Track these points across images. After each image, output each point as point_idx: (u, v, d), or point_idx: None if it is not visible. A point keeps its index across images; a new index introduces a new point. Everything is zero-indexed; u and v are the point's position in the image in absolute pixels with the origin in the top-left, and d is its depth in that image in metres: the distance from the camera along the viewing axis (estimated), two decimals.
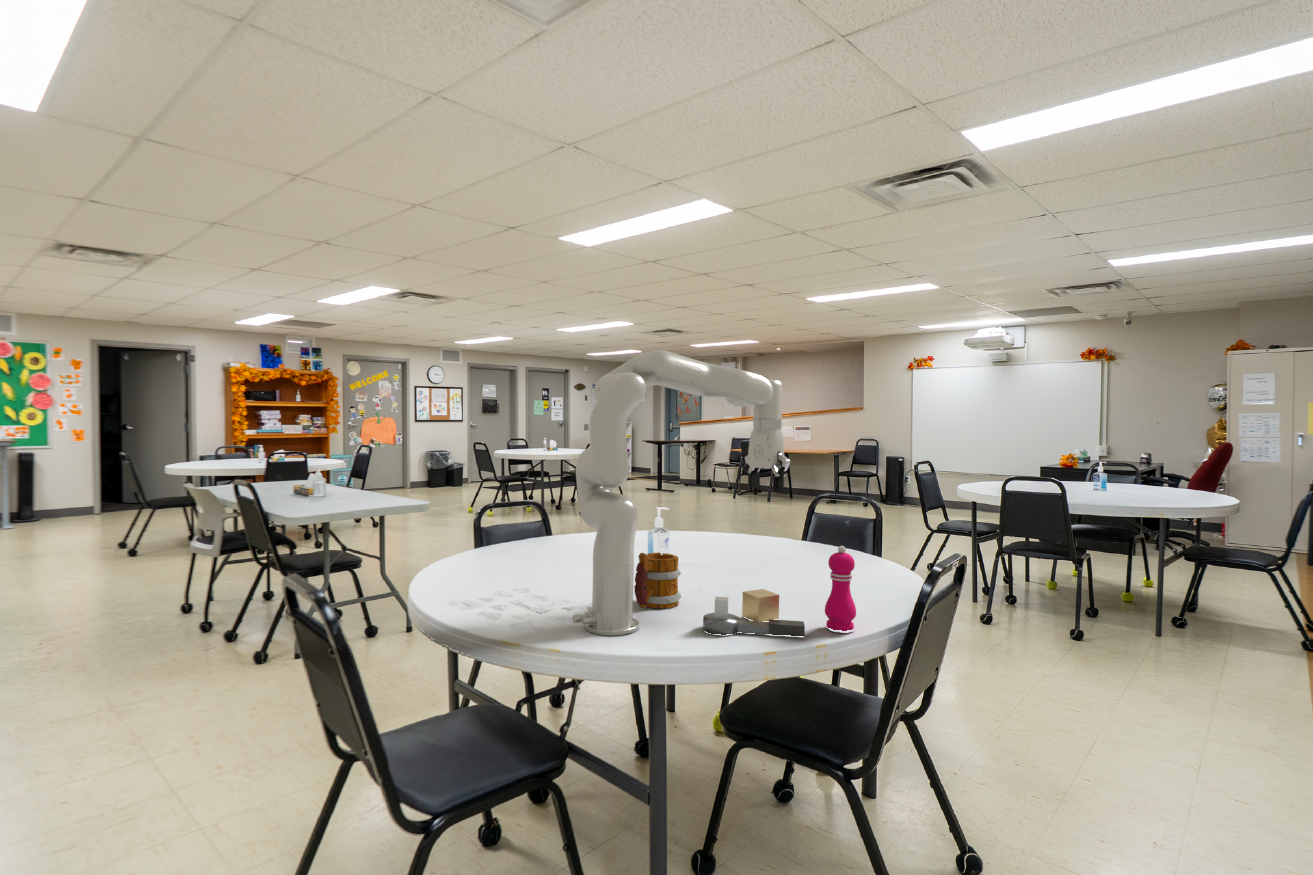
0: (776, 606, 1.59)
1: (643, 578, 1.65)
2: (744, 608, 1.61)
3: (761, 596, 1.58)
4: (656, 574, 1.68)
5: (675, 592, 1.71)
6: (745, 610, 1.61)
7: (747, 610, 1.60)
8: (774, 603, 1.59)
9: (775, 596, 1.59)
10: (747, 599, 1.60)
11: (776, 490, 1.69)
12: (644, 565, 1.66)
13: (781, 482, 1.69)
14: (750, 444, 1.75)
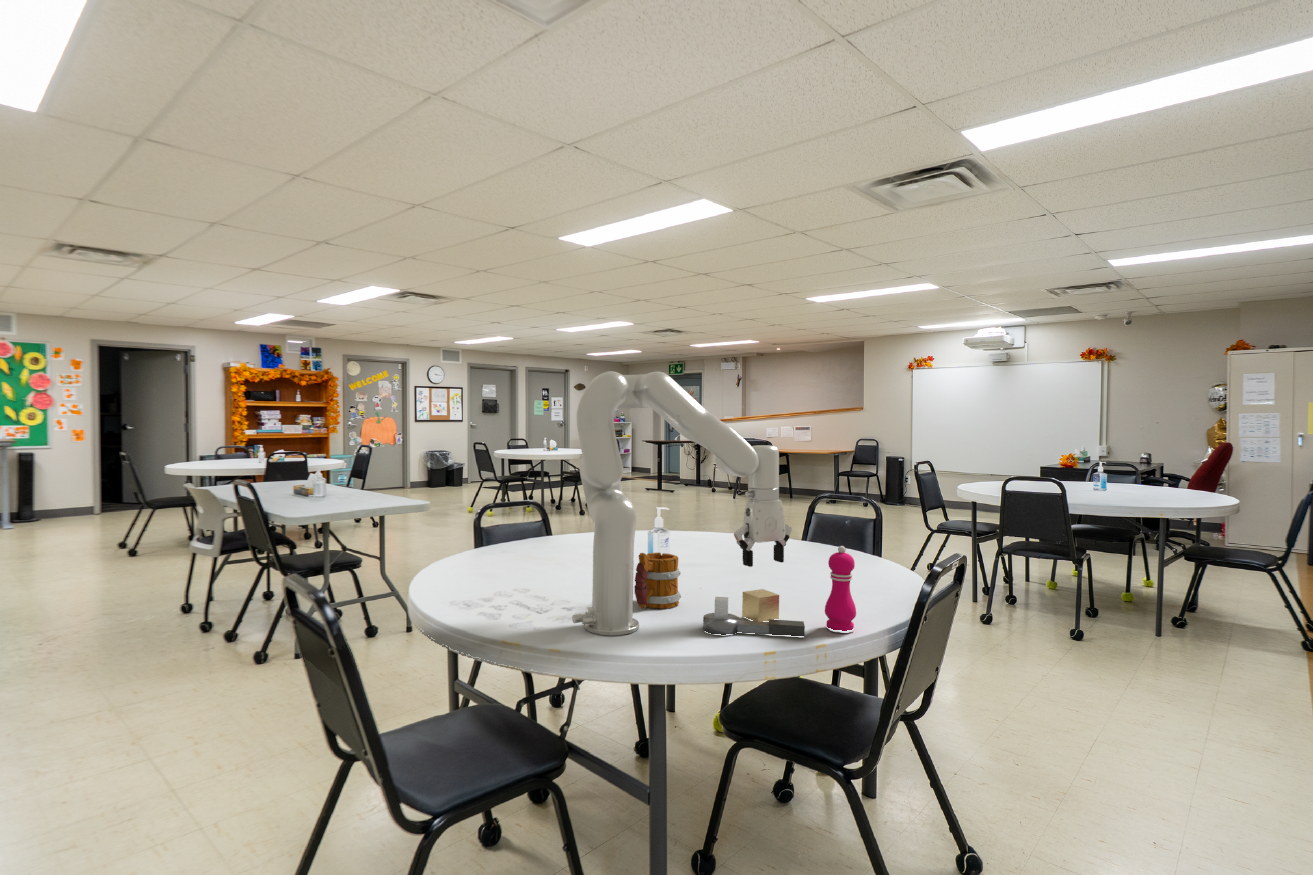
0: (776, 606, 1.59)
1: (643, 578, 1.65)
2: (744, 608, 1.61)
3: (761, 596, 1.58)
4: (656, 574, 1.68)
5: (675, 592, 1.71)
6: (745, 610, 1.61)
7: (747, 610, 1.60)
8: (774, 603, 1.59)
9: (775, 596, 1.59)
10: (747, 599, 1.60)
11: None
12: (644, 565, 1.66)
13: None
14: (758, 517, 1.57)
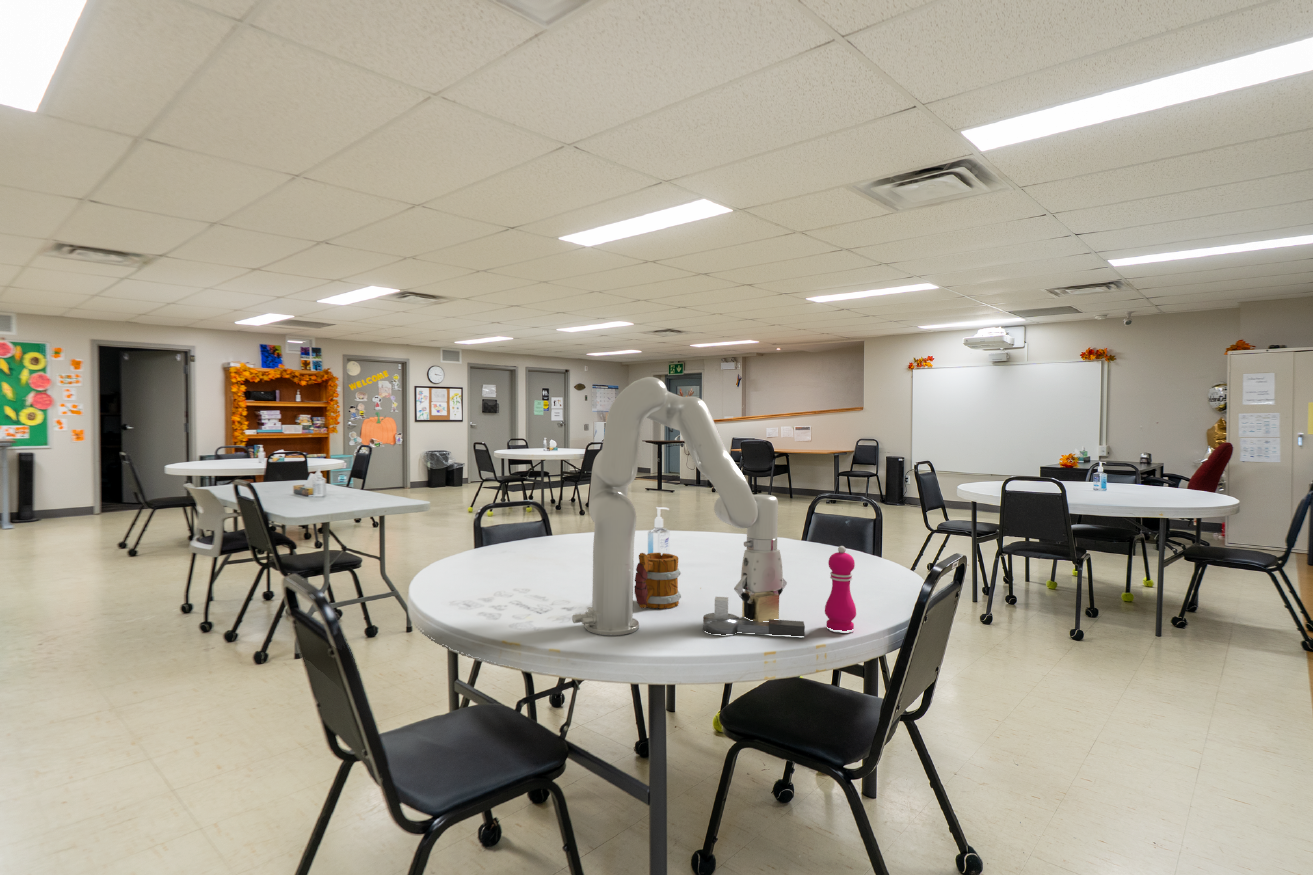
0: (776, 606, 1.59)
1: (643, 578, 1.65)
2: None
3: (761, 596, 1.58)
4: (656, 574, 1.68)
5: (675, 592, 1.71)
6: None
7: None
8: (774, 603, 1.59)
9: (775, 596, 1.59)
10: None
11: None
12: (644, 565, 1.66)
13: None
14: (756, 568, 1.57)
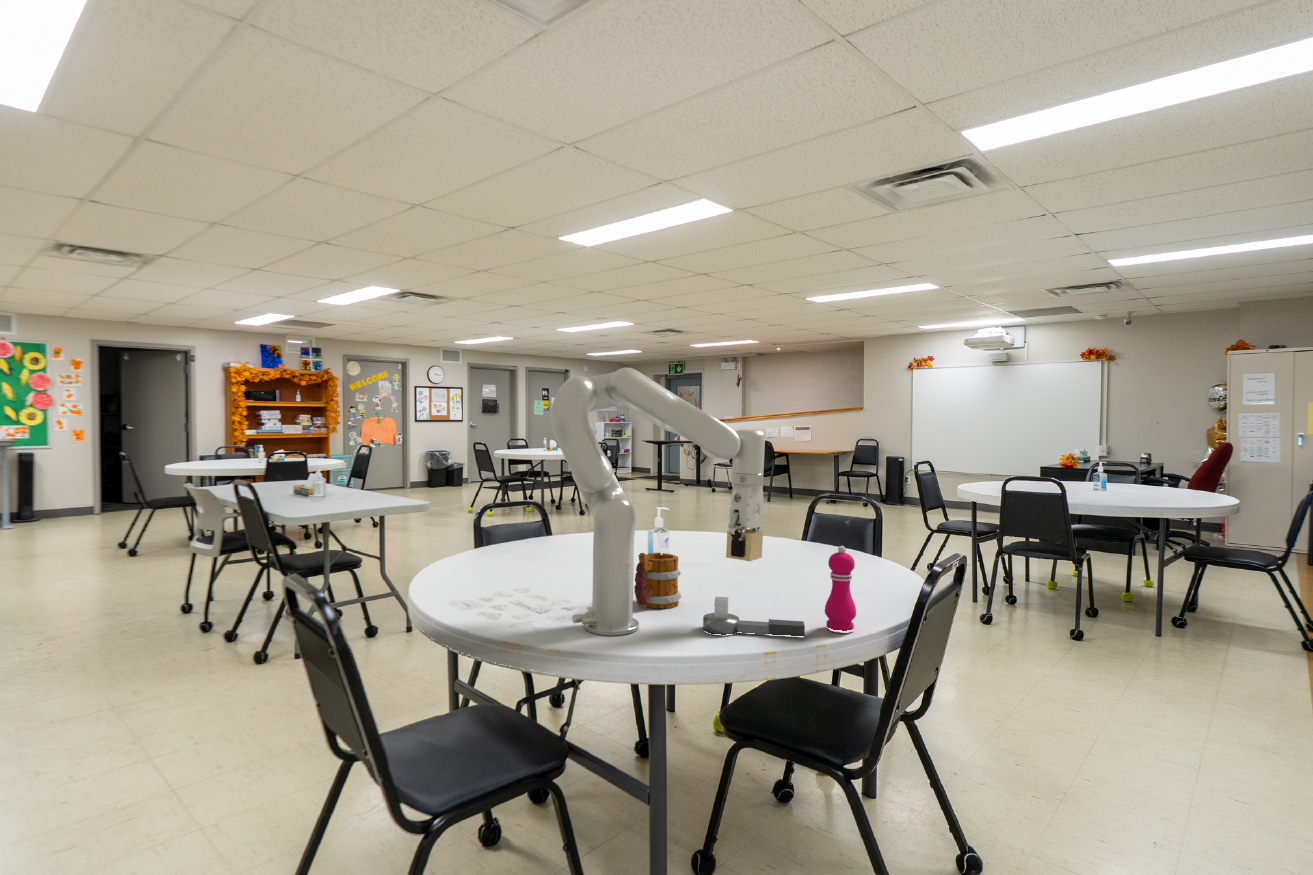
0: (761, 542, 1.57)
1: (643, 578, 1.65)
2: (729, 547, 1.55)
3: (751, 532, 1.54)
4: (656, 574, 1.68)
5: (675, 592, 1.71)
6: None
7: None
8: (760, 539, 1.56)
9: (760, 532, 1.57)
10: None
11: None
12: (644, 565, 1.66)
13: None
14: (749, 503, 1.52)
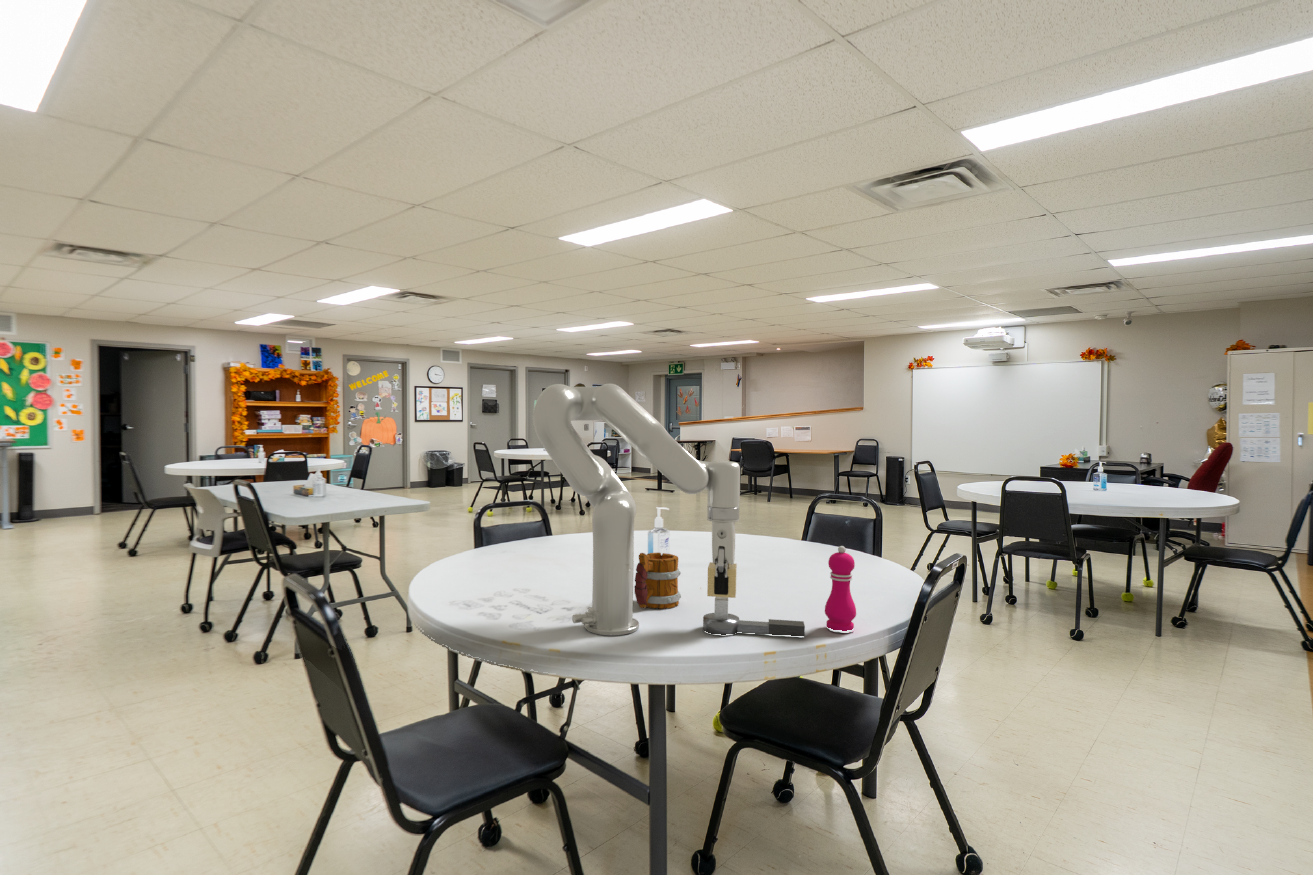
0: None
1: (643, 578, 1.65)
2: (711, 585, 1.49)
3: (732, 567, 1.49)
4: (656, 574, 1.68)
5: (675, 592, 1.71)
6: (713, 587, 1.48)
7: None
8: None
9: (736, 565, 1.53)
10: None
11: None
12: (644, 565, 1.66)
13: None
14: (733, 538, 1.47)
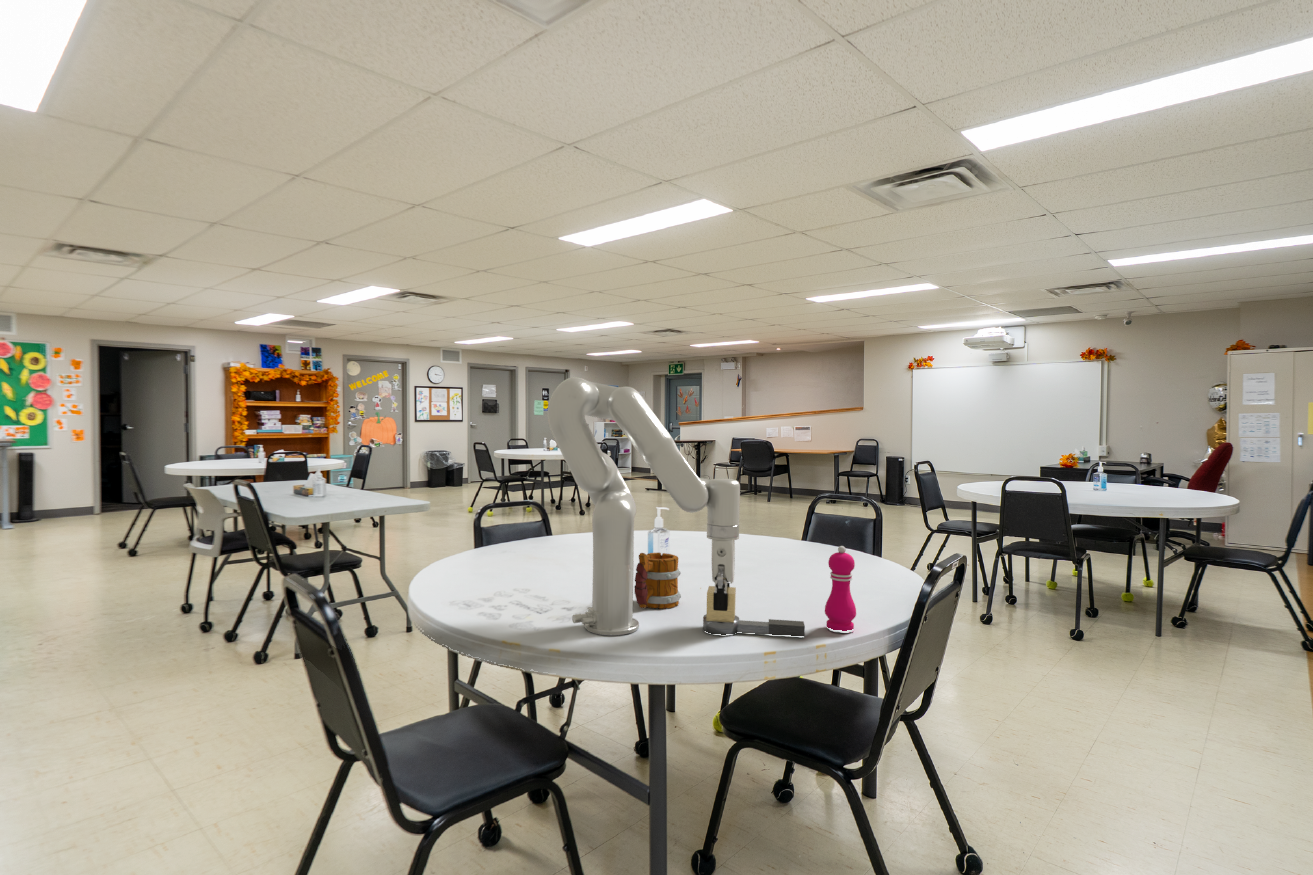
0: (735, 599, 1.53)
1: (643, 578, 1.65)
2: (710, 610, 1.49)
3: (731, 592, 1.49)
4: (656, 574, 1.68)
5: (675, 592, 1.71)
6: (712, 611, 1.49)
7: (715, 611, 1.49)
8: (735, 597, 1.53)
9: (735, 589, 1.53)
10: None
11: None
12: (644, 565, 1.66)
13: None
14: (733, 556, 1.47)
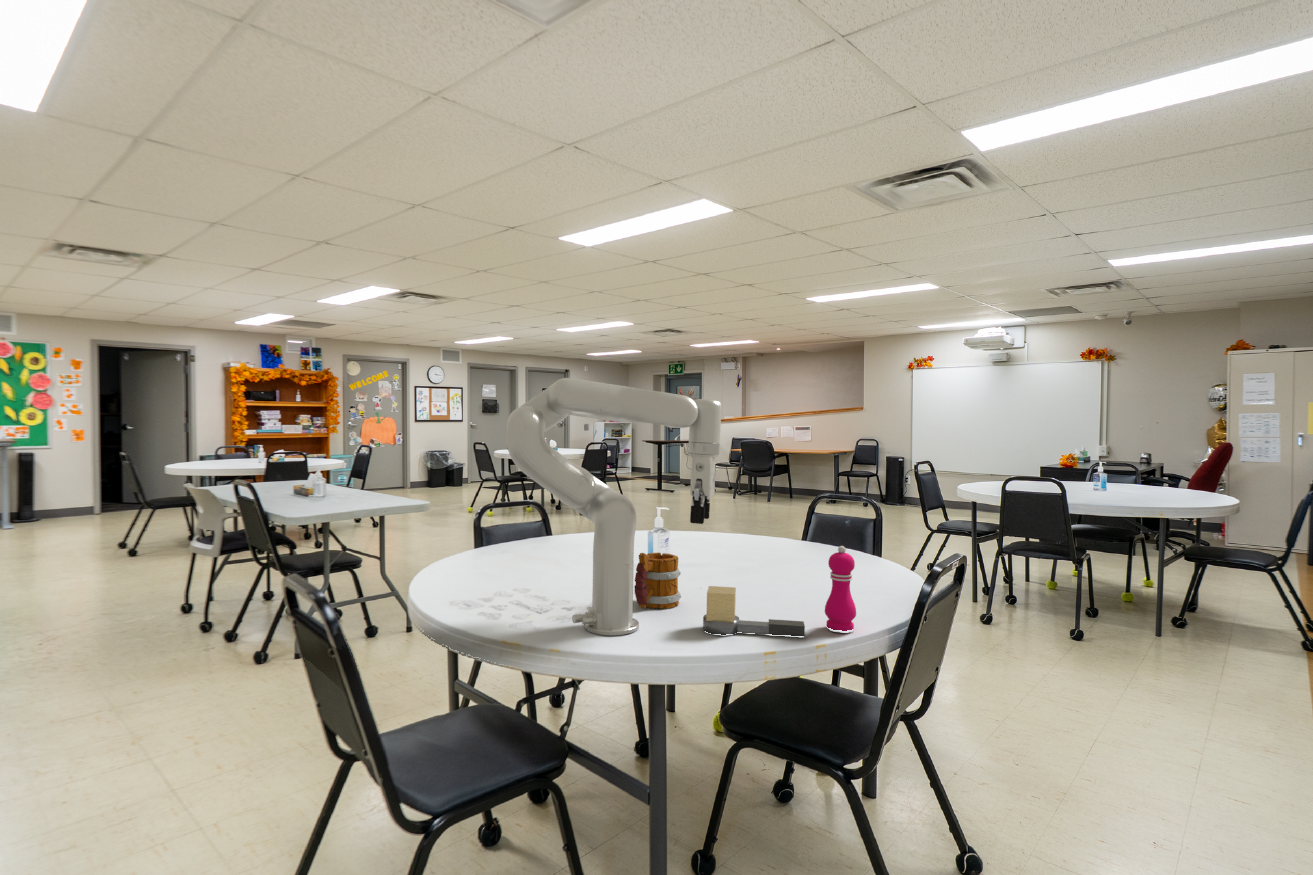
0: (735, 599, 1.53)
1: (643, 578, 1.65)
2: (710, 610, 1.49)
3: (731, 592, 1.49)
4: (656, 574, 1.68)
5: (675, 592, 1.71)
6: (712, 611, 1.49)
7: (715, 611, 1.49)
8: (735, 597, 1.53)
9: (735, 589, 1.53)
10: (715, 599, 1.48)
11: None
12: (644, 565, 1.66)
13: None
14: (711, 472, 1.53)
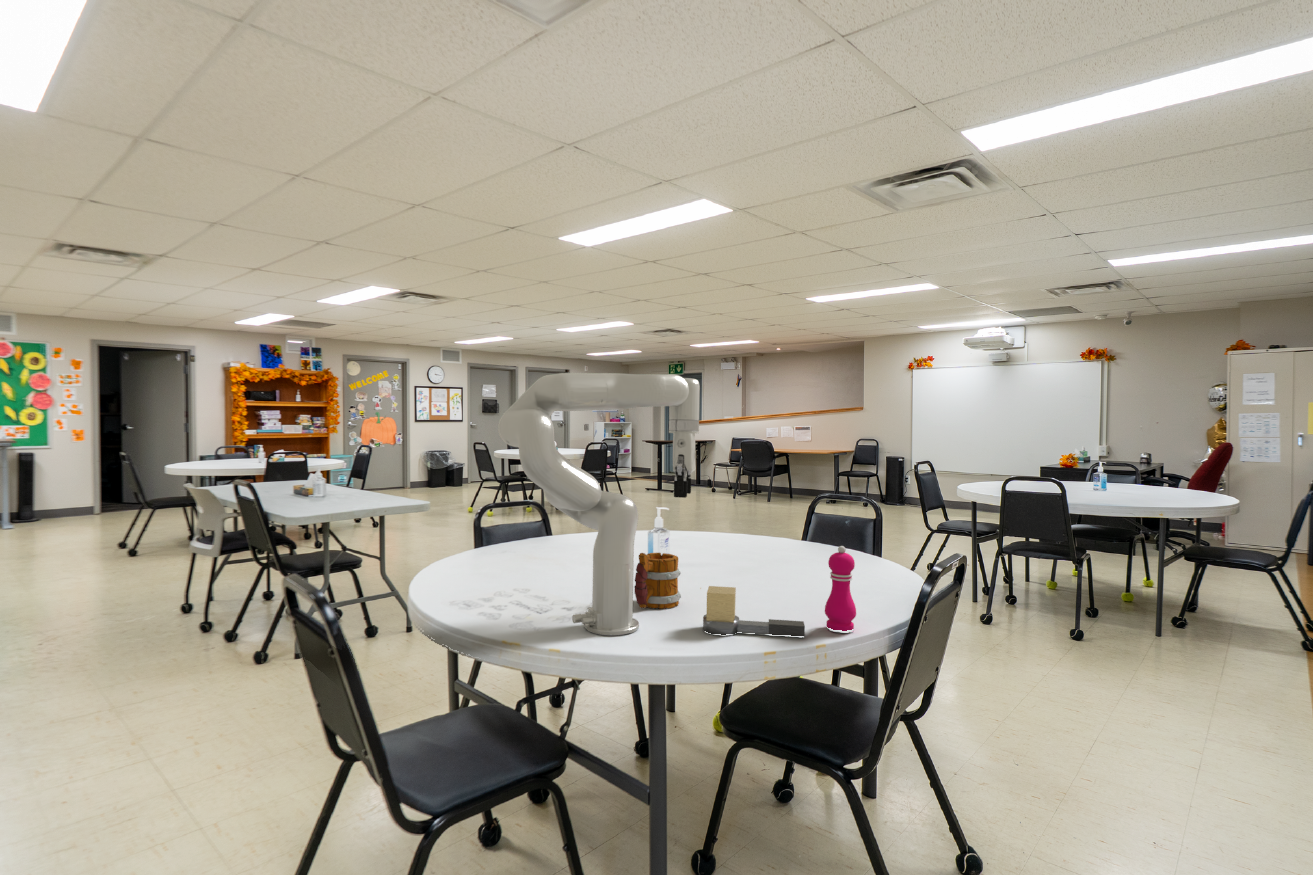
0: (735, 599, 1.53)
1: (643, 578, 1.65)
2: (710, 610, 1.49)
3: (731, 592, 1.49)
4: (656, 574, 1.68)
5: (675, 592, 1.71)
6: (712, 611, 1.49)
7: (715, 611, 1.49)
8: (735, 597, 1.53)
9: (735, 589, 1.53)
10: (715, 599, 1.48)
11: None
12: (644, 565, 1.66)
13: None
14: (692, 448, 1.59)
